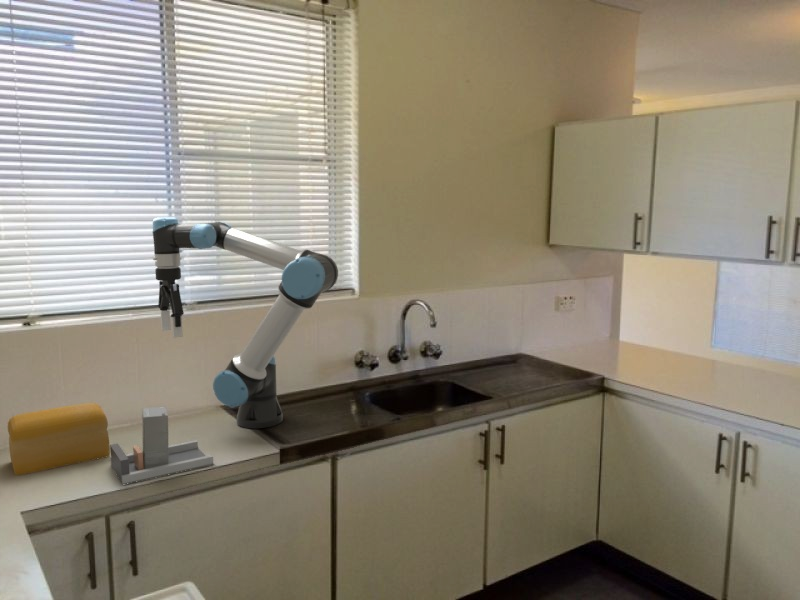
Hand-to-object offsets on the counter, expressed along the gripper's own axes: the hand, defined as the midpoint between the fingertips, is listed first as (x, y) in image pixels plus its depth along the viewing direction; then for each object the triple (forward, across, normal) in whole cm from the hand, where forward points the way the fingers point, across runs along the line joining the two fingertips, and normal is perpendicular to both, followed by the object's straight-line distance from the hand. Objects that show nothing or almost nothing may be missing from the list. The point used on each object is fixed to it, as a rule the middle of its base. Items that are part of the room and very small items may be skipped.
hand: (171, 333), depth 212 cm
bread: (+32, +6, -35) cm, 48 cm away
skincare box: (+31, +28, -14) cm, 44 cm away
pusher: (+31, +28, -18) cm, 45 cm away
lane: (+32, +28, -12) cm, 44 cm away
